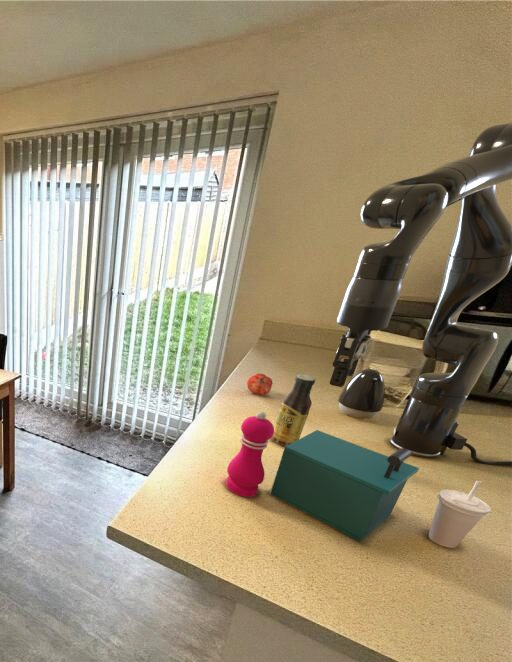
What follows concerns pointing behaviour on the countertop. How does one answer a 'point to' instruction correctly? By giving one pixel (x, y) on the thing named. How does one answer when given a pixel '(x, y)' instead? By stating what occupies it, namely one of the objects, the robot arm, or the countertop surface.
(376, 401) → the black dome
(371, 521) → the cool box
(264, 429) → the pepper mill
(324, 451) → the lid
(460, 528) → the smoothie
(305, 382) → the sauce bottle
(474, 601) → the countertop surface
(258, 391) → the tomato
